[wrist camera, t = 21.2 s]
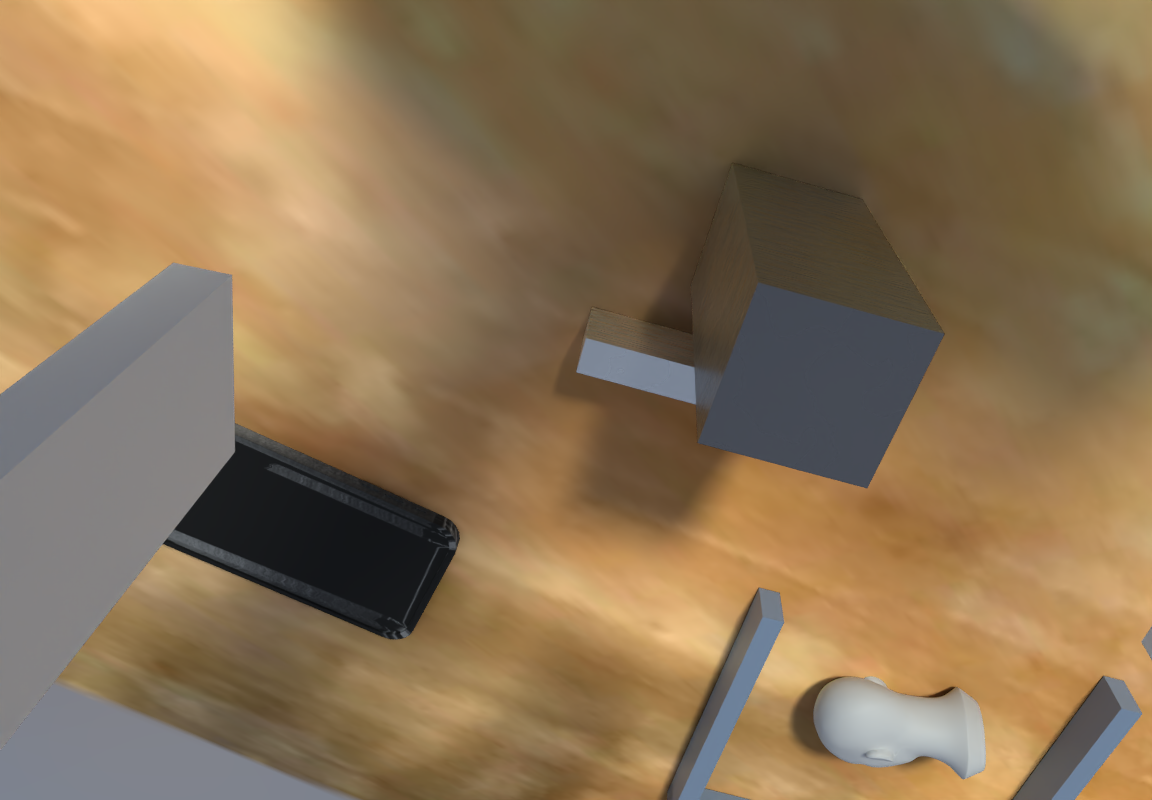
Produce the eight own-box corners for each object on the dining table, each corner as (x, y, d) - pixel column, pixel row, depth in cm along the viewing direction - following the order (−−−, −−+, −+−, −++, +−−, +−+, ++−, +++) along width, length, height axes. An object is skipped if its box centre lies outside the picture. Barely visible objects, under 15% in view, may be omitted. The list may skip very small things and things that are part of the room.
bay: (759, 587, 43) (762, 616, 42) (1123, 681, 44) (1142, 713, 42) (667, 792, 51) (667, 824, 49) (981, 869, 51) (992, 904, 50)
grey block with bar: (640, 136, 34) (625, 245, 24) (951, 224, 34) (1073, 369, 24) (583, 339, 38) (548, 508, 28) (861, 414, 39) (931, 609, 28)
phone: (404, 646, 46) (114, 523, 44) (410, 630, 47) (126, 510, 45) (465, 535, 43) (151, 395, 40) (469, 520, 44) (164, 383, 41)
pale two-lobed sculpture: (797, 693, 48) (828, 646, 44) (950, 725, 48) (994, 680, 44) (797, 775, 45) (831, 732, 41) (960, 810, 45) (1009, 769, 41)
